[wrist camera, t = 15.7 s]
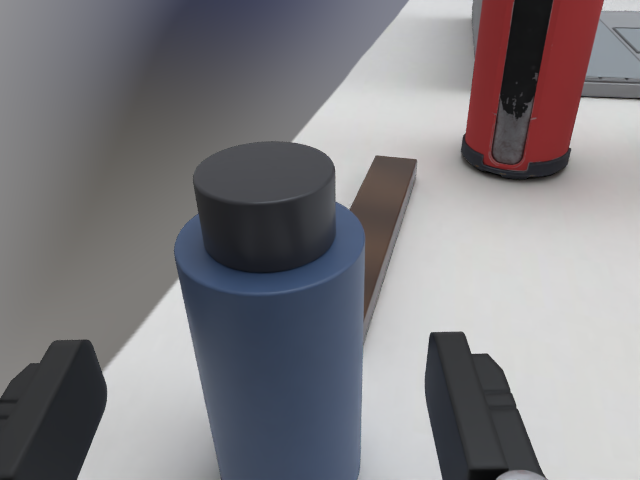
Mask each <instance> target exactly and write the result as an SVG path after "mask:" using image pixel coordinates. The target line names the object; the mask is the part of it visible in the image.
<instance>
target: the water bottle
mask: <svg viewBox="0 0 640 480" xmlns="http://www.w3.org/2000/svg"><path fill="white" fill-rule="evenodd" d="M193 184H194V189H195V195H196V201H197V207H198V214H197V215H195V216H194V217H193V218H192V219H191V220H189V221H188V222H187V223H186V224H185V226H184V227H183V228H182V229H181V231H180V233H179V234H178V236H177V239H176V242H175V247H174V254H175V261H176V266H177V270H178V275H179V280H180V285H181V289H182V294H183V299H184V304H185V308H186V313H187V318H188V323H189V328H190V332H191V337H192V342H193V347H194V351H195V356H196V361H197V366H198V370H199V375H200V380H201V385H202V389H203V394H204V399H205V404H206V408H207V413H208V418H209V423H210V427H211V432H212V437H213V442H214V446H215V451H216V456H217V461H218V465H219V470H220V475H221V480H357V478H358V475H359V470H360V454H361V409H362V364H363V318H364V273H365V233H364V229H363V227H362V224H361V222H360V221H359V220H358V218H357V217H356V216H355V215H354V214H353V213H352V212H351V211H350V210H349V209H347V208H346V207H345V206H343V205H341V204H339V203H337V202H336V200H335V166H334V164H333V162H332V160H331V159H330V158H329V157H328V156H327V155H326V154H325V153H323V152H322V151H320V150H318V149H316V148H313V147H310V146H306V145H303V144H298V143H291V142H273V141H271V142H257V143H249V144H243V145H238V146H234V147H231V148H228V149H225V150H222V151H219V152H217V153H215V154H213V155H211V156H209V157H208V158H206V159H205V160H204V161H202V162H201V163H200V164H199V165H198V166H197V168H196V170H195V172H194V175H193Z"/></svg>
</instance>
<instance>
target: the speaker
mask: <svg viewBox="0 0 640 480" xmlns="http://www.w3.org/2000/svg"><path fill="white" fill-rule="evenodd" d="M603 2H604V0H482V8H481V16H480V24H479V32H478V40H477V48H476V56H475V64H474V72H473V80H472V88H471V96H470V104H469V112H468V120H467V128H466V133H465V134H464V136H463V140H462V148H461V152H462V154H463V156H464V157H465V159H466V160H467V161H469V162H470V163H471V164H472V165H473V166H474V167H476V168H477V169H479V170H481V171H483V172H484V171H488V172H492V173H495V174H500V175H502V177H504V178H511V179H526V178H528V177H538V176H544V177H546V176H549V175H551V174H553V173H555V172H557V171H559V170H561V169H563V168H564V167H565V166H566V165H567V164H568V161H569V156H570V152H571V148H569V145H570V140H571V136H572V132H573V128H574V124H575V119H576V115H577V111H578V107H579V103H580V98H581V94H582V90H583V86H584V82H585V77H586V73H587V69H588V65H589V61H590V56H591V52H592V48H593V44H594V39H595V35H596V31H597V27H598V23H599V18H600V14H601V10H602V6H603Z"/></svg>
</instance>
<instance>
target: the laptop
mask: <svg viewBox="0 0 640 480" xmlns="http://www.w3.org/2000/svg"><path fill="white" fill-rule="evenodd" d="M481 8H482V0H473V6H472V26H473V39H474V53H475V56H476V48H477V40H478V32H479V24H480V16H481ZM581 96H595V97H620V98H640V11H601V14H600V18H599V23H598V27H597V31H596V35H595V39H594V44H593V48H592V52H591V56H590V61H589V65H588V69H587V73H586V77H585V82H584V86H583V90H582V94H581Z"/></svg>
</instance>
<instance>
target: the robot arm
mask: <svg viewBox="0 0 640 480" xmlns="http://www.w3.org/2000/svg"><path fill="white" fill-rule="evenodd" d="M425 396H426V403H427V408H428V413H429V418H430V422H431V427H432V432H433V436H434V441H435V446H436V451H437V455H438V460H439V465H440V469H441V474H442V479H443V480H548V479H546V477H545V476H544V474H543V472H542V470H541V468H540V466H539V463H538V460H537V458H536V455H535V453H534V450H533V447H532V445H531V442H530V439H529V437H528V434H527V432H526V429H525V426H524V424H523V421H522V419H521V416H520V413H519V411H518V409H517V408H516V403H515V400H514V398H513V395H512V393H511V392H510V387H509V385H508V382H507V379H506V377H505V374H504V372H503V370H502V369H501V368H500V366H499V365H498V364H497V363H496V362H495V361H494V360H493V359H492V358H491V357H490V356H489V355H488V354H471V351H470V348H469V345H468V342H467V339H466V336H465V334H464V333H463V332H431V333H430V337H429V345H428V354H427V363H426V372H425ZM106 401H107V386H106V382H105V379H104V376H103V374H102V371H101V368H100V365H99V362H98V359H97V356H96V353H95V351H94V348H93V345H92V343H91V342H90V341H89V340H57V341H54V342H52V343H51V345H50V346H49V348H48V350H47V351H46V353H45V355H44V357H43V358H42V360H41V362H40V363H31V364H29V365H28V366H27V367H26V368H25V369H24V370H23V371H22V372H20V373H19V374H18V375H17V376H16V377H15V378H14V379H13V380H11V382H10V383H9V385H8V387H7V389H6V390H5V392H4V393H3V395H2V396H1V398H0V480H77V478H78V475H79V473H80V470H81V468H82V465H83V463H84V460H85V458H86V455H87V453H88V450H89V448H90V445H91V443H92V440H93V438H94V435H95V433H96V430H97V428H98V425H99V423H100V420H101V418H102V415H103V413H104V410H105V407H106Z"/></svg>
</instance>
